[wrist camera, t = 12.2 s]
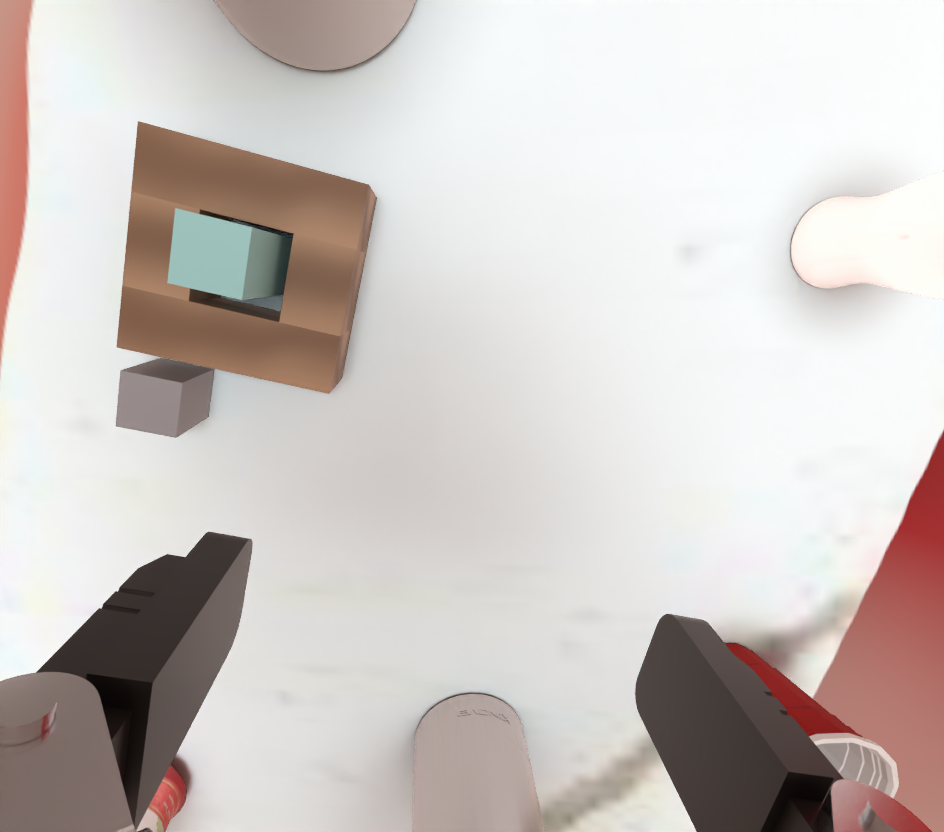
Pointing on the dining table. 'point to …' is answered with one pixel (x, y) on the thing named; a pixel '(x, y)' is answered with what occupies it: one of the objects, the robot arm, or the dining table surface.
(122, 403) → the short pin
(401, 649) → the dining table surface
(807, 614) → the dining table surface
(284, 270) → the long pin
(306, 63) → the cylinder vase
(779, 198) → the dining table surface
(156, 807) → the liquor
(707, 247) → the dining table surface
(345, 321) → the socket block
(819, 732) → the plastic cup
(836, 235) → the beer glass
